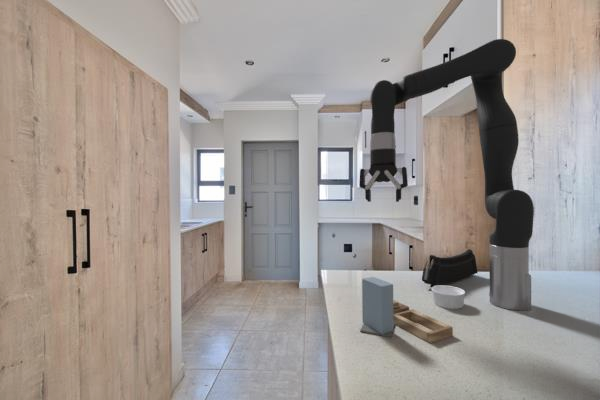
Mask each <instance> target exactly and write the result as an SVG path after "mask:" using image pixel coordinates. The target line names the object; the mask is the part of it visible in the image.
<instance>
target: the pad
mask: <svg viewBox="0 0 600 400" xmlns="http://www.w3.org/2000/svg"><path fill="white" fill-rule="evenodd" d="M394 328H395V324H394V323H393V329H394ZM359 332H360V333H364V334H371V335H376V336H382V337H386V338H392V336H393V332H394V330H393V331H391V332H388V333H384V334H381V333H379V332H378V331H376V330H374V329H373V328H371V327H369V326H368V325H366V324H364V323H363V324H362V326H361V328H360V331H359Z"/></svg>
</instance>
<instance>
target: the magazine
mask: <svg viewBox="0 0 600 400" xmlns="http://www.w3.org/2000/svg"><path fill="white" fill-rule="evenodd" d="M424 265H425V266H424V267H423V268H422V270H423V271H422V274H421V275H422V276H421V280H422V282H424V284H427V285H430V288H432V287H434V286H438V285H452V284H455V283H458V282H462V281H463V280H466V279H468V278H470V277H472V276H474V275H476V274H479V272H478V267H477V260H476V255H475V254H474V252H473V250H472V249H469V248H468V249H467V250H465V251H464V252H462V253H460V254H456V255H453V256H448V257H447V256H445V257H439V256H436V255H433V254H430V255H429V257H428V259H427V260H426V263H425V264H424Z"/></svg>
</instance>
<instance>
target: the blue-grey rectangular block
mask: <svg viewBox="0 0 600 400" xmlns="http://www.w3.org/2000/svg"><path fill="white" fill-rule="evenodd" d="M361 283H362V284H361V287H362V289H361V291H362V293H361V294H362V295H361V296H362V299H361V301H362V323H363V324H366V325H368V326H369V327H371V328H373V329H374V330H376V331H378V332H379V333H381V334H384V333H388V332H391V331H393V332H394V328H393V300H394V284H393V283H391V282H388V281H386V280H382V279H380V278H377V277H375V276H369V277H363V278H362V279H361Z"/></svg>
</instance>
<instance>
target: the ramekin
mask: <svg viewBox="0 0 600 400" xmlns="http://www.w3.org/2000/svg"><path fill="white" fill-rule="evenodd" d="M430 289H431V293H432V301H433V303H434V305H435V306H438V307H440V308H443V309H450V310H458V309H459V308H460V309H462V308H463V307H464V305H465V295H466V291H465V290H464V289H463V288H460V287H456V286H452V285H448V284H445V285H434V287H430Z"/></svg>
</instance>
